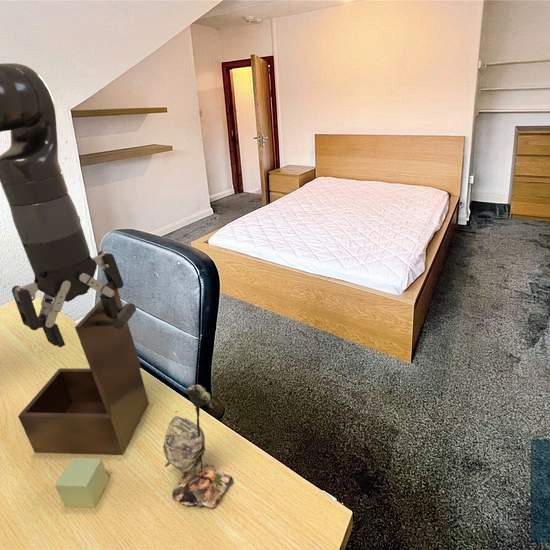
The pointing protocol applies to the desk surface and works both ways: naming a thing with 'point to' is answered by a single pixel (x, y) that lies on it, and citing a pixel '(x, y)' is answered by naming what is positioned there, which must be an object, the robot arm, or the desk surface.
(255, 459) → the desk surface
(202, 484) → the plant with pod
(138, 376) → the chest
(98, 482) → the block
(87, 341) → the lid
